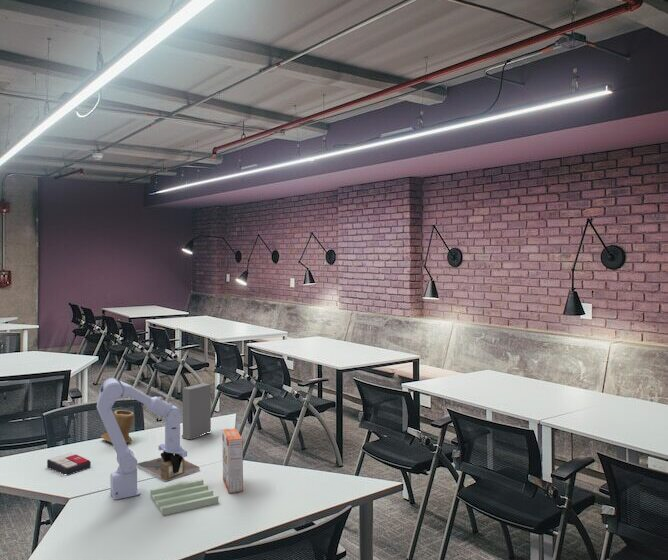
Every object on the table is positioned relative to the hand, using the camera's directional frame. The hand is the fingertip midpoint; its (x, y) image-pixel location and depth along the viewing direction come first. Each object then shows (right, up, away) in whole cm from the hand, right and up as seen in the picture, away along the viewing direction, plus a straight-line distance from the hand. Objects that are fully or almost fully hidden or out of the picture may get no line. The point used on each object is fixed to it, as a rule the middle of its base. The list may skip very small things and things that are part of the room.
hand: (172, 471), depth 226 cm
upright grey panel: (-5, -3, +62) cm, 63 cm away
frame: (0, -2, 0) cm, 2 cm away
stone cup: (-40, -3, +53) cm, 66 cm away
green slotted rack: (+8, -6, -13) cm, 16 cm away
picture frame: (-7, -6, +17) cm, 19 cm away
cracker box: (+23, -6, 0) cm, 24 cm away
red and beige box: (-49, -5, +19) cm, 53 cm away
